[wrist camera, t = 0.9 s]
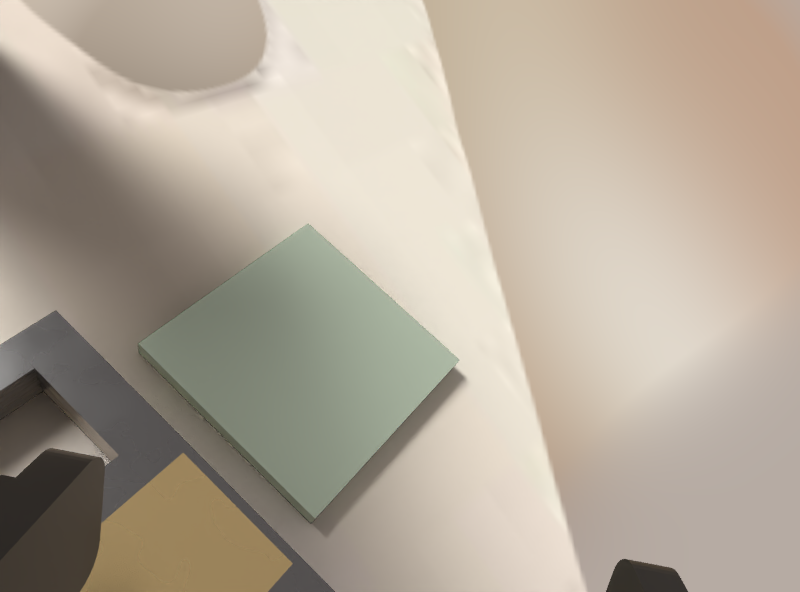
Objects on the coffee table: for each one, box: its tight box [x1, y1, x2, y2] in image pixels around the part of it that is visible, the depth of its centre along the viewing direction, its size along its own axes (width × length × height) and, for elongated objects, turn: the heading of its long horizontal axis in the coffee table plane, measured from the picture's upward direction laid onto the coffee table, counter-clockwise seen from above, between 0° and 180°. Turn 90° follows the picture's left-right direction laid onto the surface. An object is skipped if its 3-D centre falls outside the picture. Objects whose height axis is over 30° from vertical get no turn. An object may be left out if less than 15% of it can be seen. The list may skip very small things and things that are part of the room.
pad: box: [138, 224, 459, 523], centre depth 34 cm, size 12×12×1 cm
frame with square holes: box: [0, 311, 335, 592], centre depth 26 cm, size 18×10×2 cm, turn 50°
